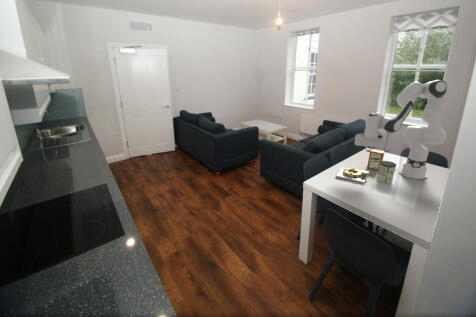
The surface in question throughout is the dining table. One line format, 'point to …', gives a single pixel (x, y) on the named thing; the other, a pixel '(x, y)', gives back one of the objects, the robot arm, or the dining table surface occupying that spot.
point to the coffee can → (386, 171)
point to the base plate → (349, 178)
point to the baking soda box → (375, 159)
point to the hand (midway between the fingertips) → (368, 151)
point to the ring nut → (357, 174)
